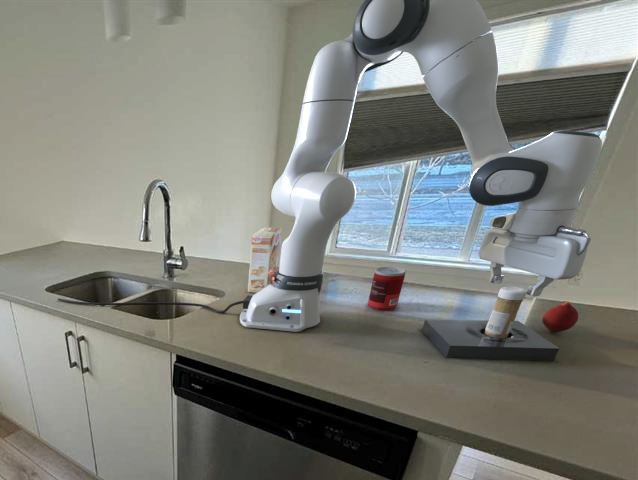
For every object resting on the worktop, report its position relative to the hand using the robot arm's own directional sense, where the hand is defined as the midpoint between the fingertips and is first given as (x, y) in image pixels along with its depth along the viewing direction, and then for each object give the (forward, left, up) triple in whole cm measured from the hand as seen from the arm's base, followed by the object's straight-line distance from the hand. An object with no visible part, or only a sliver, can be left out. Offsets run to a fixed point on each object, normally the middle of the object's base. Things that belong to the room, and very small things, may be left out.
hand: (512, 288), depth 89 cm
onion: (+16, +8, -14) cm, 23 cm away
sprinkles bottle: (0, 0, -14) cm, 14 cm away
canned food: (-17, +26, -14) cm, 34 cm away
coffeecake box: (-51, +46, -14) cm, 70 cm away
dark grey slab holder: (-2, 0, -14) cm, 14 cm away
